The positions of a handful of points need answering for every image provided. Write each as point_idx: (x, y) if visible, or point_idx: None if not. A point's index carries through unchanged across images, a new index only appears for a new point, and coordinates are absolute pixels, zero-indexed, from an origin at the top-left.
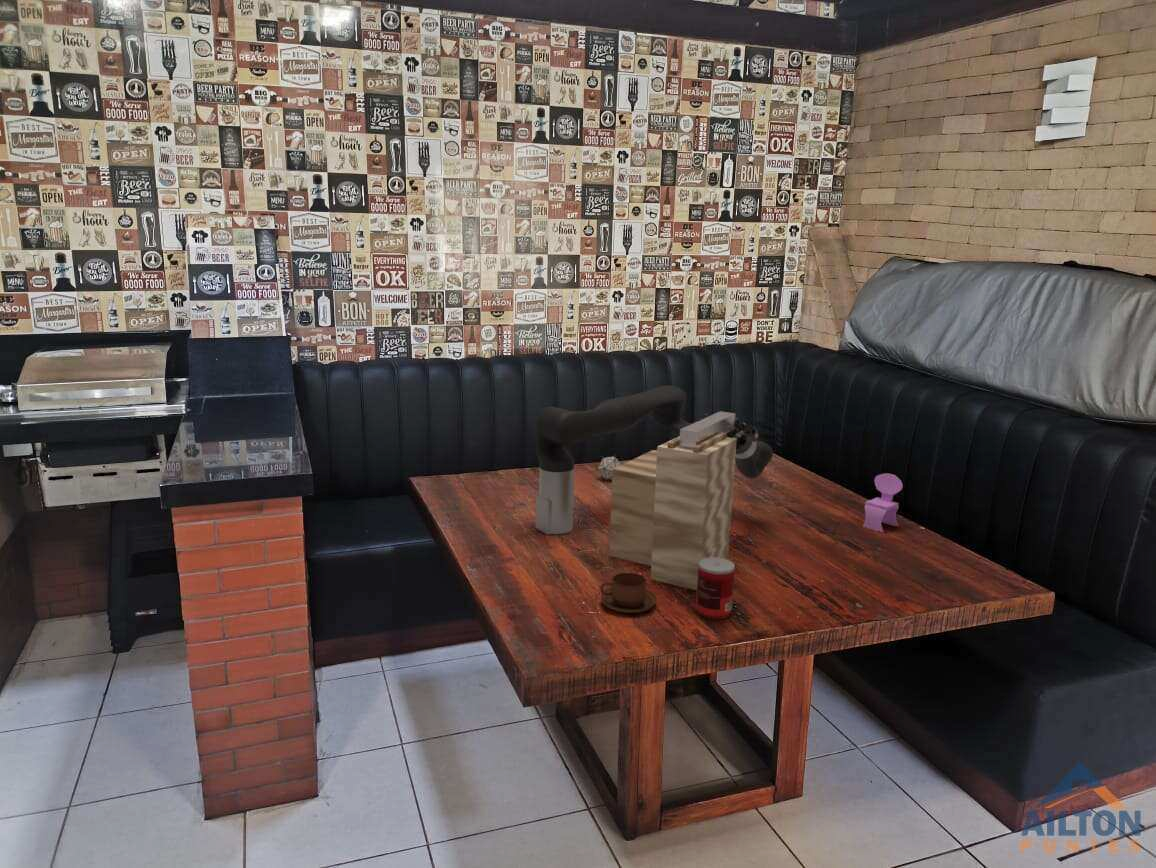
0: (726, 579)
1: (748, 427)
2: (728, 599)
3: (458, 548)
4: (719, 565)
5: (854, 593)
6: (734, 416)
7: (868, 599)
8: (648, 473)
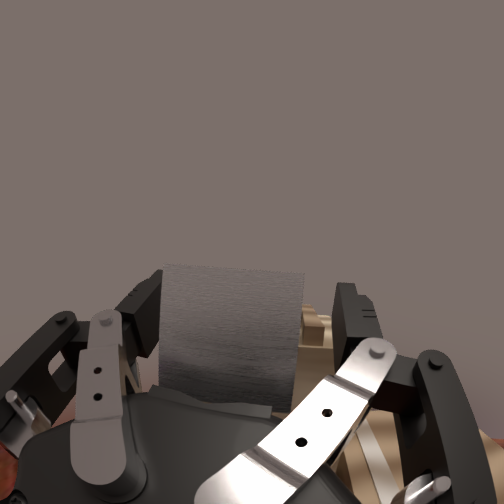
0: None
1: (84, 328)
2: None
3: (497, 441)
4: None
5: (8, 476)
6: (168, 286)
7: (3, 463)
8: (384, 417)
